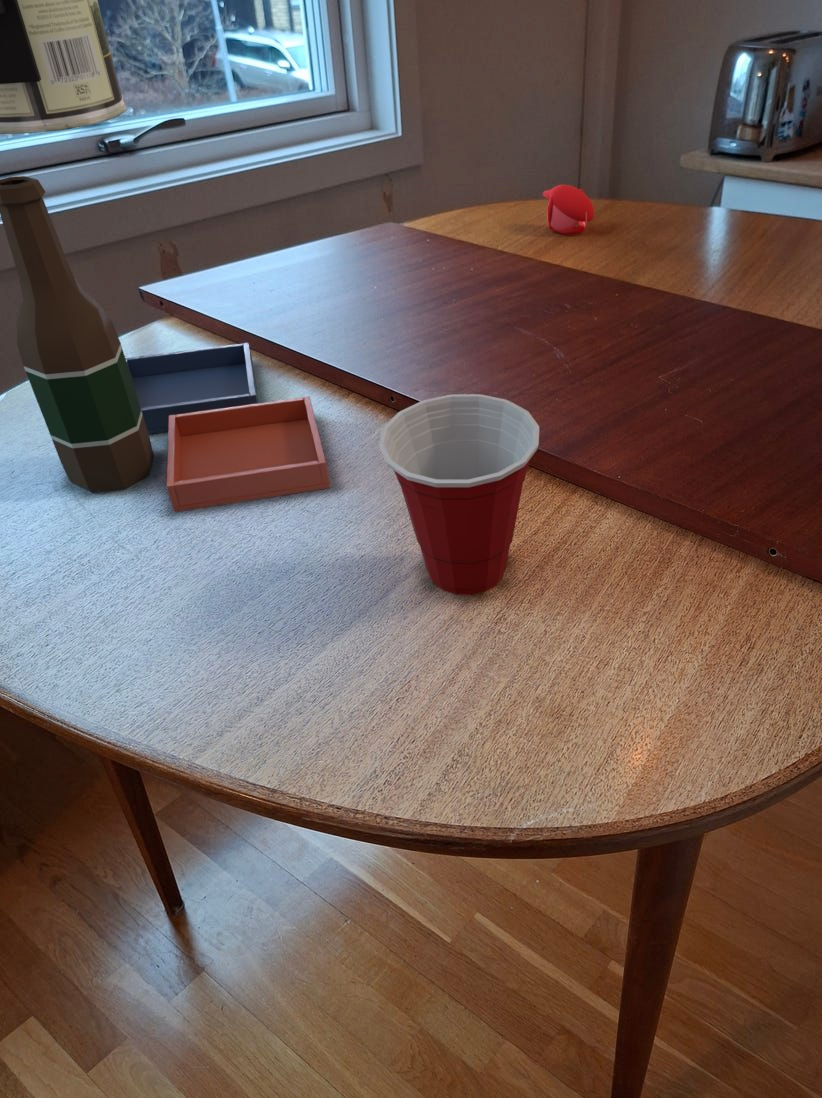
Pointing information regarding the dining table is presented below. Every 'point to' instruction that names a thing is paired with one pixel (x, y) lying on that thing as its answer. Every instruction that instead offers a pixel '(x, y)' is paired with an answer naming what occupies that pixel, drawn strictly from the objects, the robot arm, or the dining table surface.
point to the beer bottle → (72, 354)
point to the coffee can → (63, 71)
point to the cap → (568, 209)
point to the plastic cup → (462, 482)
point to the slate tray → (192, 382)
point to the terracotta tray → (244, 454)
